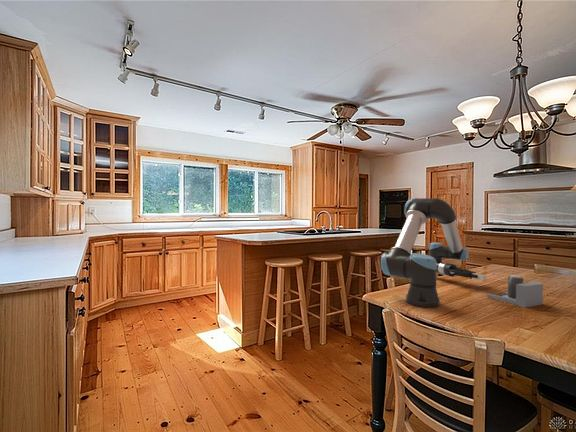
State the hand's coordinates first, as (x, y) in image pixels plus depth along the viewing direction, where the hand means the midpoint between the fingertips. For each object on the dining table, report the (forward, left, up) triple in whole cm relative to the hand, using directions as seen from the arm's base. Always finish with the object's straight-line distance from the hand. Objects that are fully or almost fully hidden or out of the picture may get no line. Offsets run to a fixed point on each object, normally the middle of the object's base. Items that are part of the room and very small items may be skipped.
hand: (484, 278), depth 162 cm
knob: (0, -16, -7) cm, 18 cm away
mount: (0, -15, -8) cm, 17 cm away
